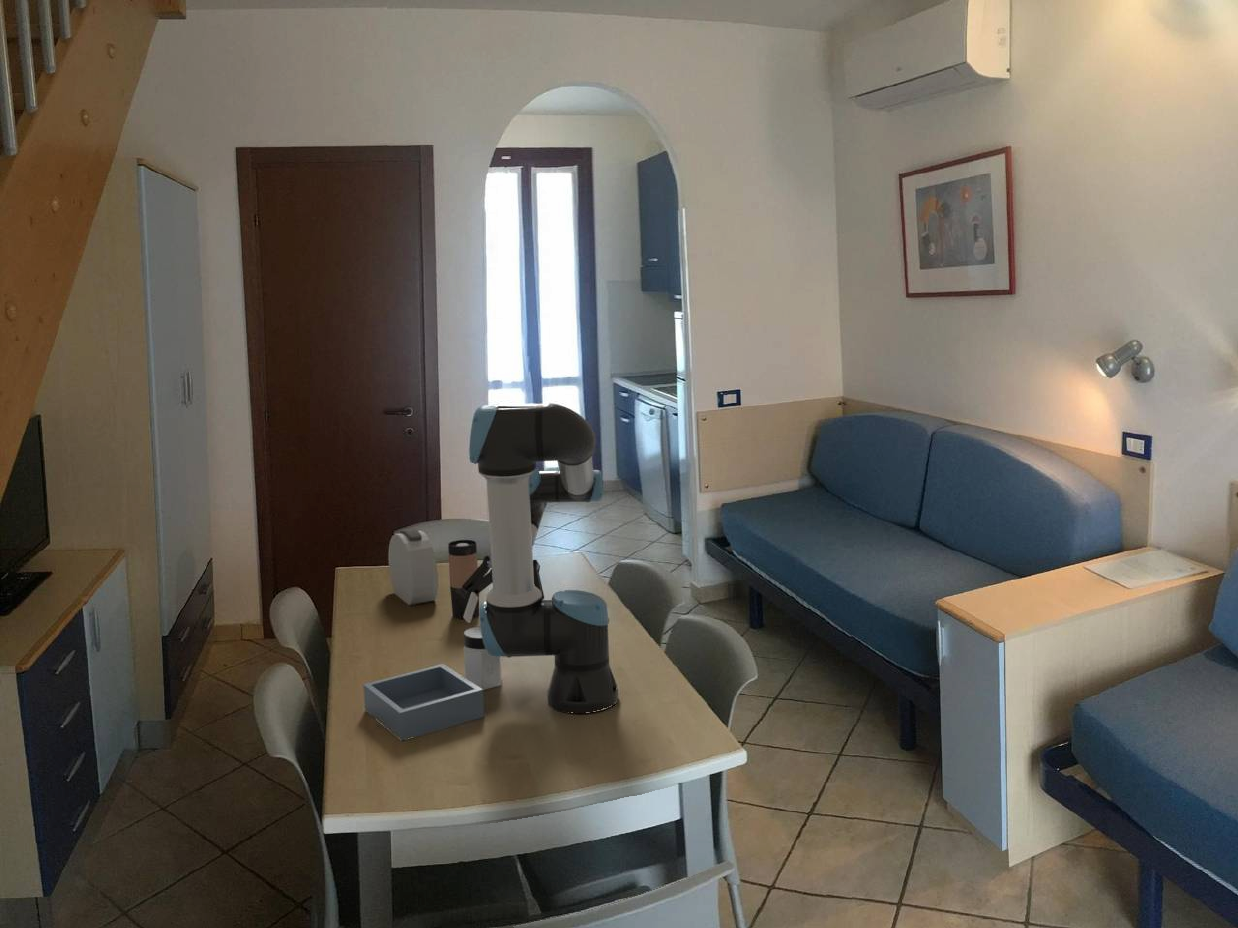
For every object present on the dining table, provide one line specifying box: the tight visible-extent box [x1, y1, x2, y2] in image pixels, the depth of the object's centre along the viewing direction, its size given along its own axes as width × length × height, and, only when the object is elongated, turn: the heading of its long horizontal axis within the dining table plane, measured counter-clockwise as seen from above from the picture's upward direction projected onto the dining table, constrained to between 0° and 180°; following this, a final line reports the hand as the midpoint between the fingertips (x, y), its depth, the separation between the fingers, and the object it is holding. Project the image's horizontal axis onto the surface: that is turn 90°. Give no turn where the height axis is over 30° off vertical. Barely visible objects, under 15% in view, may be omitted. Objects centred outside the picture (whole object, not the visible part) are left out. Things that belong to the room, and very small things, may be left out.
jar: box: [463, 625, 503, 691], centre depth 229 cm, size 9×8×12 cm
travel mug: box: [447, 539, 480, 620], centre depth 276 cm, size 8×8×20 cm
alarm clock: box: [387, 528, 439, 606], centre depth 292 cm, size 21×8×20 cm, turn 30°
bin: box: [363, 663, 485, 740], centre depth 214 cm, size 18×18×6 cm
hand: (493, 622), depth 235 cm, fingers open, 13 cm apart
